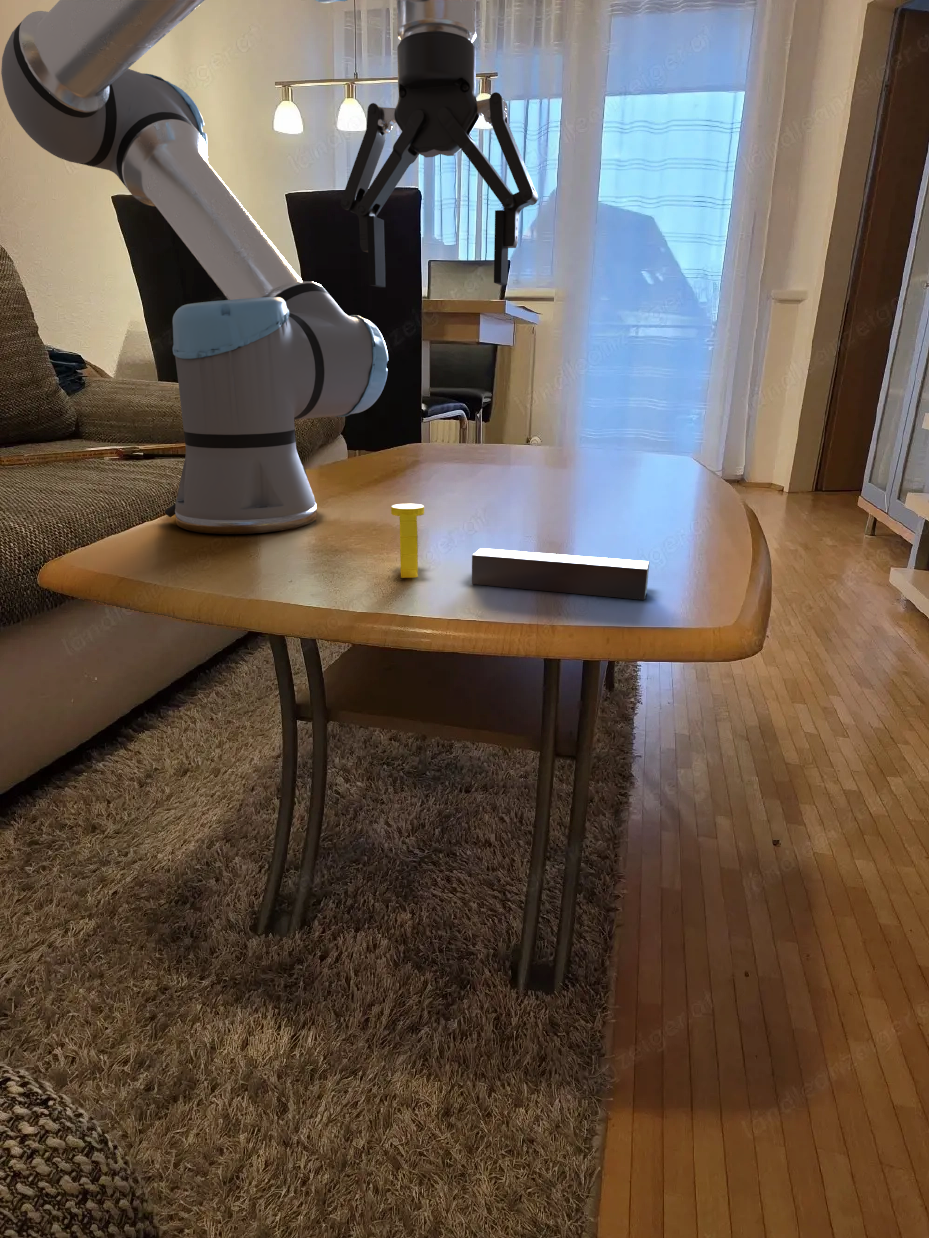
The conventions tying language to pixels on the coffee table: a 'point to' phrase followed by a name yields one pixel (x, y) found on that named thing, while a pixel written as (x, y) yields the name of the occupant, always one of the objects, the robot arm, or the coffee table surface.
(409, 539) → the yellow capped peg
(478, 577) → the walnut stick
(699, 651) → the coffee table surface
